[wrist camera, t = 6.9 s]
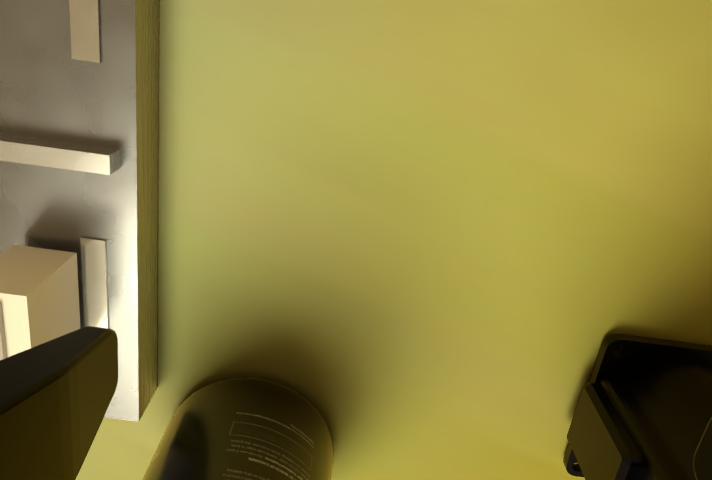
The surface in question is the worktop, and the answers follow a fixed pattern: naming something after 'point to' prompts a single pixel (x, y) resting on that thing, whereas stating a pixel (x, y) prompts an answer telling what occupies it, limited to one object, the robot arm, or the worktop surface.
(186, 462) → the supplement bottle
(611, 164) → the worktop surface
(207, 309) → the worktop surface
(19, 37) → the breaker panel
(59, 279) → the ivory toggle
